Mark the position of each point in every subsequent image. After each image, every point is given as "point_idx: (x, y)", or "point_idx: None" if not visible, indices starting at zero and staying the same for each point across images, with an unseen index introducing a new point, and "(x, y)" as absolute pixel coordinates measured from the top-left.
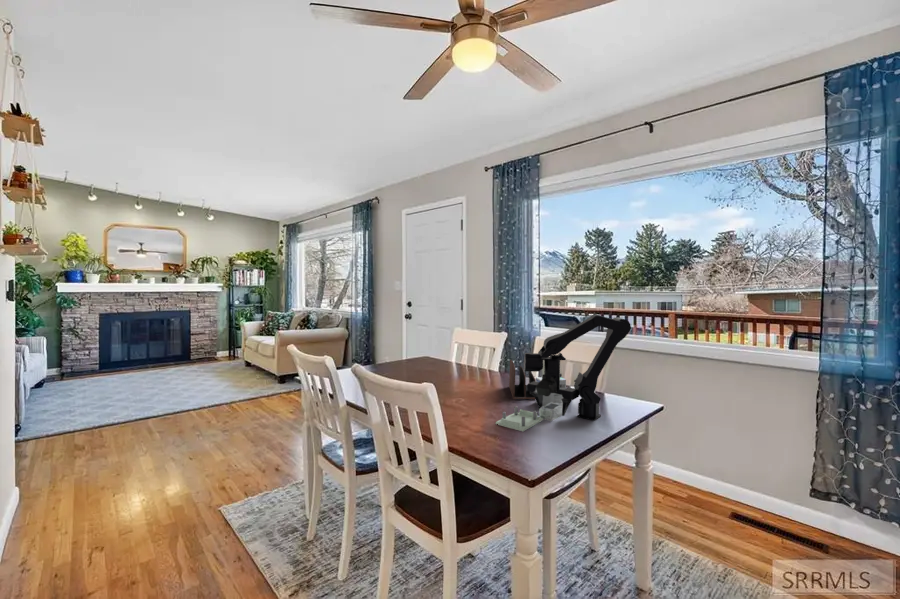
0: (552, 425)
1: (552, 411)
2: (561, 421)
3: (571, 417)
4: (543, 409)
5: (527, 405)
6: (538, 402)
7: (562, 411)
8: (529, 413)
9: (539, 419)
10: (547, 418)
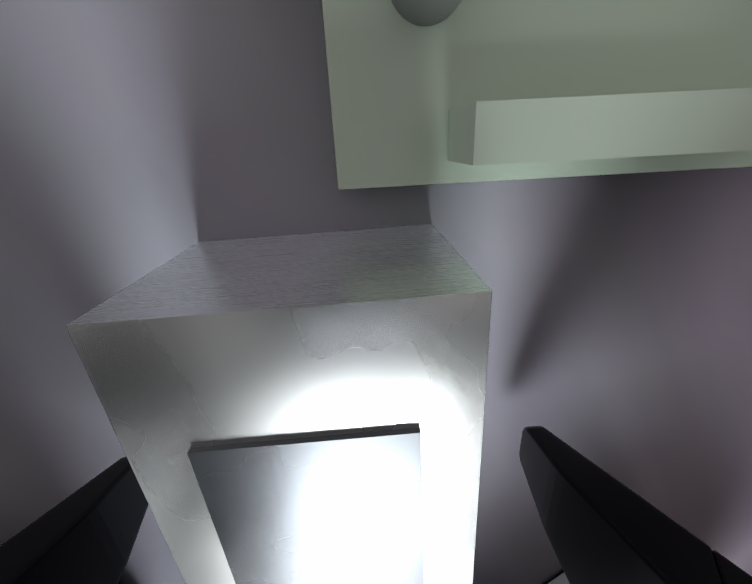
0: (33, 48)
1: (87, 341)
2: None
3: None
4: (357, 301)
5: (748, 514)
6: (662, 553)
7: (70, 516)
8: (653, 96)
9: (340, 52)
10: (276, 246)
